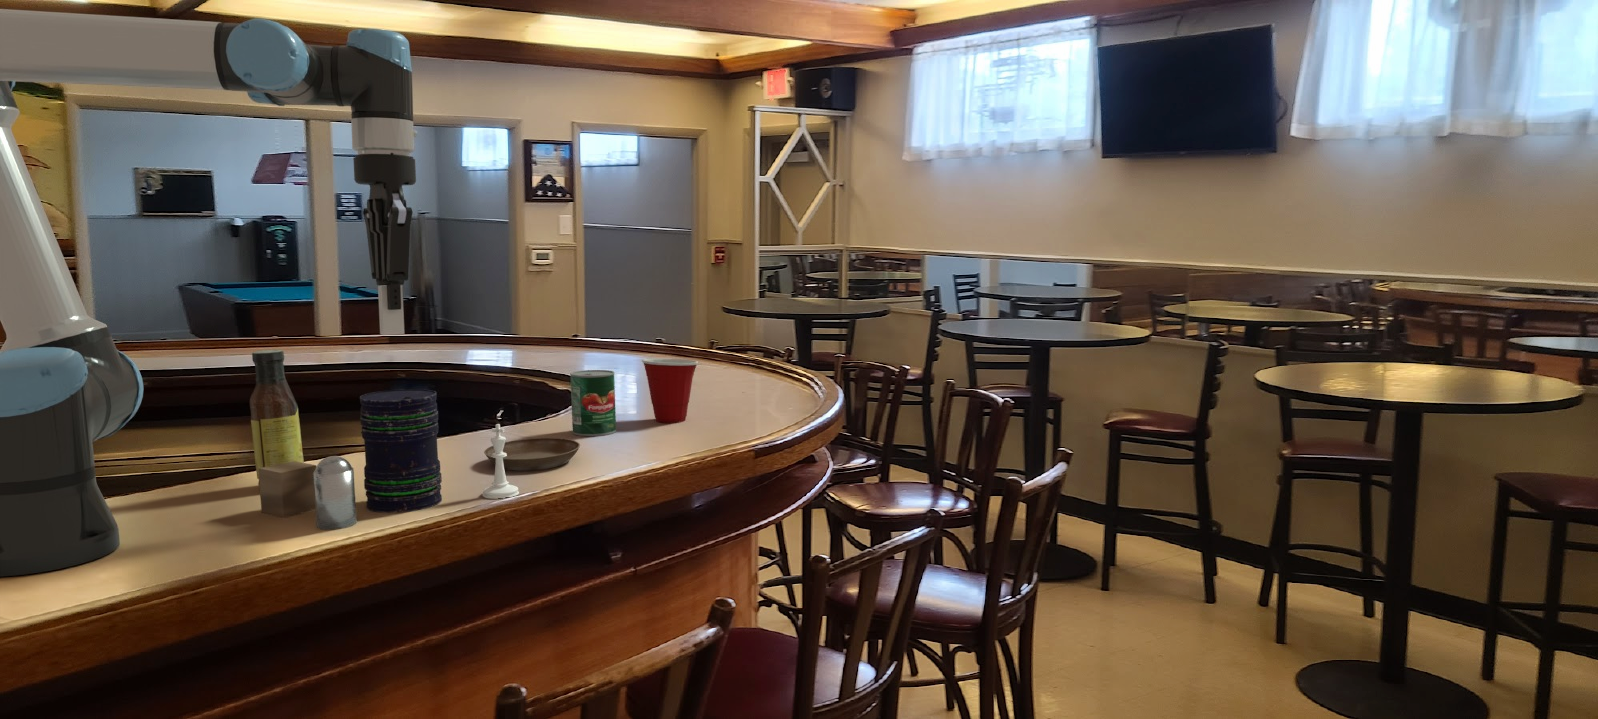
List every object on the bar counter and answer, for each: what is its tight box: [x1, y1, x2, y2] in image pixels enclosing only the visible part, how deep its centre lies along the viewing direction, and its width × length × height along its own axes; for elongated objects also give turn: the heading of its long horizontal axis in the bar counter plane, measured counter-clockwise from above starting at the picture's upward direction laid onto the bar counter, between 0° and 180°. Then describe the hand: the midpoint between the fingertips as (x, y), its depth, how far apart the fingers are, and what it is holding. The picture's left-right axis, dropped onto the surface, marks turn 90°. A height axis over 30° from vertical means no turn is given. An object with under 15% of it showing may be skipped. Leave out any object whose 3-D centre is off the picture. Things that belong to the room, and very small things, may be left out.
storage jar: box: [359, 388, 443, 514], centre depth 141 cm, size 10×10×15 cm
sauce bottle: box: [249, 349, 305, 488], centre depth 150 cm, size 7×6×20 cm
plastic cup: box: [641, 358, 699, 424], centre depth 200 cm, size 11×11×12 cm
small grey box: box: [258, 461, 317, 519], centre depth 138 cm, size 5×5×6 cm
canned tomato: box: [569, 369, 617, 437], centre depth 189 cm, size 8×8×11 cm
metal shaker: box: [313, 455, 358, 531], centre depth 131 cm, size 5×5×9 cm
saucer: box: [483, 437, 581, 472], centre depth 166 cm, size 15×15×3 cm
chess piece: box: [482, 423, 520, 500], centre depth 145 cm, size 5×5×10 cm
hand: (392, 333), depth 139 cm, fingers closed
